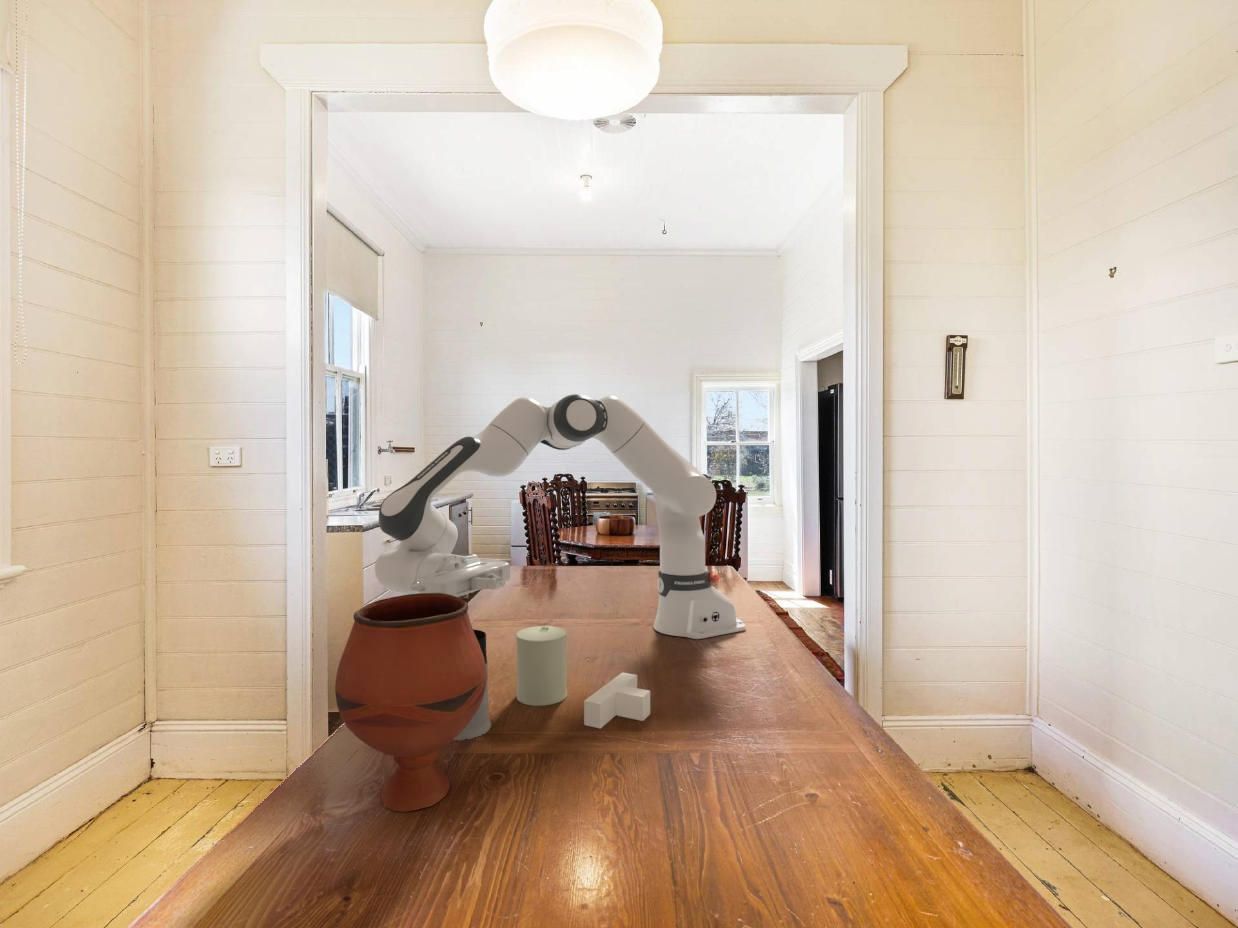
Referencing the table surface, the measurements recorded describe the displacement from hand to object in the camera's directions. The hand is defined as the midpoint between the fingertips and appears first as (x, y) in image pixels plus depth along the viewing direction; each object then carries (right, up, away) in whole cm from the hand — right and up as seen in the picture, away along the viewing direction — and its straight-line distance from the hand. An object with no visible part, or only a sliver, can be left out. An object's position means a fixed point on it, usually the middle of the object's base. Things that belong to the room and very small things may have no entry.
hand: (500, 583), depth 118 cm
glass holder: (-4, -21, -19) cm, 28 cm away
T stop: (+23, -20, -11) cm, 32 cm away
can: (+8, -20, -3) cm, 22 cm away
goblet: (-5, -21, -35) cm, 41 cm away
